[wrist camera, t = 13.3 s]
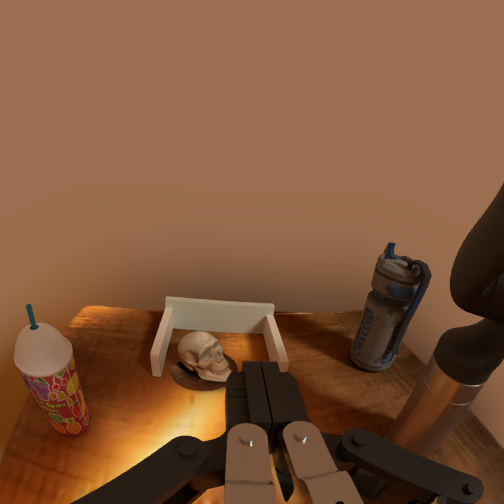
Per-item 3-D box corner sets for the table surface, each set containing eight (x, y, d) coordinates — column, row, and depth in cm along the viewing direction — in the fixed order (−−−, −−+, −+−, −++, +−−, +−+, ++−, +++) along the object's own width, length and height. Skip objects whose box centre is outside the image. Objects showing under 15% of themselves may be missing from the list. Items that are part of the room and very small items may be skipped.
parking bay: (268, 330, 61) (273, 303, 59) (283, 382, 45) (291, 352, 43) (167, 323, 58) (166, 296, 56) (152, 375, 42) (149, 344, 40)
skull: (254, 362, 48) (236, 347, 40) (225, 408, 44) (200, 402, 36) (206, 335, 54) (182, 315, 46) (179, 375, 50) (150, 362, 42)
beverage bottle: (366, 386, 44) (413, 262, 37) (339, 347, 56) (368, 238, 49) (404, 376, 46) (449, 264, 39) (374, 343, 59) (405, 242, 51)
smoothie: (40, 432, 23) (-15, 315, 17) (60, 397, 31) (24, 284, 25) (88, 451, 23) (35, 333, 18) (104, 410, 31) (74, 294, 26)
